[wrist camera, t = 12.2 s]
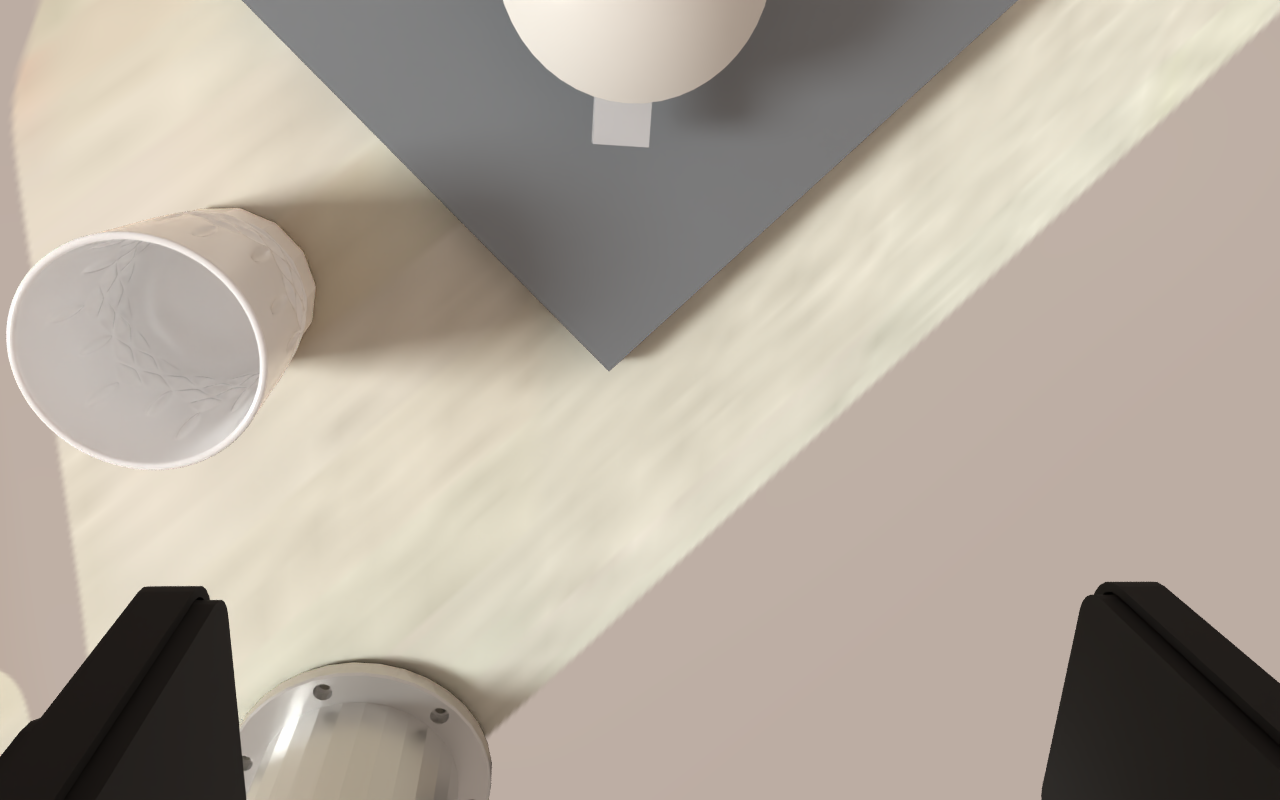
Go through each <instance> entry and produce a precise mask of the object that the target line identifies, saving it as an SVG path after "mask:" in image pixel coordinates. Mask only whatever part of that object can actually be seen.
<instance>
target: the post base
mask: <svg viewBox="0 0 1280 800" xmlns="http://www.w3.org/2000/svg"><path fill="white" fill-rule="evenodd" d="M242 1H243V2H244V3H245V4H246V5H247V6H248V7H249V8H250V9H251V10H252V11H253V12H254V13H255V14H256V15H257V16H258V17H259V18H260V19H261V20H262V21H263V22H264V23H265V24H266V25H267V26H268V27H269V28H270V29H271V30H272V31H273V32H274V33H275V34H276V35H277V36H278V37H279V38H280V39H281V40H282V41H283V42H284V43H285V44H286V45H287V46H288V47H289V48H290V49H291V50H292V51H293V52H294V53H295V54H296V55H297V56H298V57H299V58H300V60H301V61H302V62H303V63H304V64H305V65H306V66H307V67H308V68H309V69H310V70H311V71H312V72H313V73H314V74H315V75H316V76H317V77H318V78H319V79H320V80H321V81H322V82H323V83H324V84H325V85H326V86H327V87H328V88H329V89H330V90H331V91H332V92H333V93H334V94H335V95H336V96H337V97H338V98H339V99H340V100H341V101H342V102H343V103H344V104H345V105H346V106H347V107H348V108H349V109H350V110H351V111H352V112H353V113H354V114H355V115H356V116H357V117H358V118H359V119H360V120H361V121H362V122H363V123H364V124H365V125H366V126H367V127H368V128H369V129H370V130H371V131H372V132H373V133H374V134H375V135H376V136H377V137H378V138H379V139H380V140H381V141H382V142H383V143H384V144H385V145H386V146H387V147H388V148H389V149H390V151H391V152H392V153H393V154H394V155H395V156H396V157H397V158H398V159H399V160H400V161H401V162H402V163H403V164H404V165H405V166H406V167H407V168H408V169H409V170H410V171H411V172H412V173H413V174H414V175H415V176H416V177H417V178H418V179H419V180H420V181H421V182H422V183H423V184H424V185H425V186H426V187H427V188H428V189H429V190H430V191H431V192H432V193H433V194H434V195H435V196H436V197H437V198H438V199H439V200H440V201H441V202H442V203H443V204H444V205H445V206H446V207H447V208H448V209H449V210H450V211H451V212H452V213H453V214H454V215H455V216H456V217H457V218H458V219H459V220H460V221H461V222H462V223H463V224H464V225H465V226H466V227H467V228H468V229H469V230H470V231H471V232H472V233H473V234H474V235H475V236H476V237H477V238H478V239H479V240H480V242H481V243H482V244H483V245H484V246H485V247H486V248H487V249H488V250H489V251H490V252H491V253H492V254H493V255H494V256H495V257H496V258H497V259H498V260H499V261H500V262H501V263H502V264H503V265H504V266H505V267H506V268H507V269H508V270H509V271H510V272H511V273H512V274H513V275H514V276H515V277H516V278H517V279H518V280H519V281H520V282H521V283H522V284H523V285H524V286H525V287H526V288H527V289H528V290H529V291H530V292H531V293H532V294H533V295H534V296H535V297H536V298H537V299H538V300H539V301H540V302H541V303H542V304H543V305H544V306H545V307H546V308H547V309H548V310H549V311H550V312H551V313H552V314H553V315H554V316H555V317H556V318H557V319H558V320H559V321H560V322H561V323H562V324H563V325H564V326H565V327H566V328H567V329H568V330H569V331H570V333H571V334H572V335H573V336H574V337H575V338H576V339H577V340H578V341H579V342H580V343H581V344H582V345H583V346H584V347H585V348H586V349H587V350H588V351H589V352H590V353H591V354H592V355H593V356H594V357H595V358H596V359H597V360H598V361H599V362H600V363H601V364H602V365H603V366H604V367H605V368H606V369H607V370H608V371H610V370H611V369H612V368H613V367H614V366H616V365H617V364H618V363H619V362H620V361H621V360H622V359H623V358H624V357H625V356H627V355H628V354H629V353H630V352H631V351H632V350H633V349H634V348H635V347H636V346H638V345H639V344H640V343H641V342H642V341H643V340H644V339H645V338H646V337H647V336H649V335H650V334H651V333H652V332H653V331H654V330H655V329H656V328H657V327H658V326H660V325H661V324H662V323H663V322H664V321H665V320H666V319H667V318H668V317H670V316H671V315H672V314H673V313H674V312H675V311H676V310H677V309H678V308H679V307H681V306H682V305H683V304H684V303H685V302H686V301H687V300H688V299H689V298H690V297H692V296H693V295H694V294H695V293H696V292H697V291H698V290H699V289H700V288H701V287H703V286H704V285H705V284H706V283H707V282H708V281H709V280H710V279H711V278H712V277H714V276H715V275H716V274H717V273H718V272H719V271H720V270H721V269H722V268H723V267H725V266H726V265H727V264H728V263H729V262H730V261H731V260H732V259H733V258H734V257H736V256H737V255H738V254H739V253H740V252H741V251H742V250H743V249H744V248H745V247H747V246H748V245H749V244H750V243H751V242H752V241H753V240H754V239H755V238H756V237H758V236H759V235H760V234H761V233H762V232H763V231H764V230H765V229H766V228H768V227H769V226H770V225H771V224H772V223H773V222H774V221H775V220H776V219H777V218H779V217H780V216H781V215H782V214H783V213H784V212H785V211H786V210H787V209H788V208H790V207H791V206H792V205H793V204H794V203H795V202H796V201H797V200H798V199H799V198H801V197H802V196H803V195H804V194H805V193H806V192H807V191H808V190H809V189H810V188H812V187H813V186H814V185H815V184H816V183H817V182H818V181H819V180H820V179H821V178H823V177H824V176H825V175H826V174H827V173H828V172H829V171H830V170H831V169H832V168H834V167H835V166H836V165H837V164H838V163H839V162H840V161H841V160H842V159H843V158H845V157H846V156H847V155H848V154H849V153H850V152H851V151H852V150H853V149H854V148H856V147H857V146H858V145H859V144H860V143H861V142H862V141H863V140H864V139H865V138H867V137H868V136H869V135H870V134H871V133H872V132H873V131H874V130H875V129H877V128H878V127H879V126H880V125H881V124H882V123H883V122H884V121H885V120H886V119H888V118H889V117H890V116H891V115H892V114H893V113H894V112H895V111H896V110H897V109H899V108H900V107H901V106H902V105H903V104H904V103H905V102H906V101H907V100H908V99H910V98H911V97H912V96H913V95H914V94H915V93H916V92H917V91H918V90H919V89H921V88H922V87H923V86H924V85H925V84H926V83H927V82H928V81H929V80H930V79H932V78H933V77H934V76H935V75H936V74H937V73H938V72H939V71H940V70H941V69H943V68H944V67H945V66H946V65H947V64H948V63H949V62H950V61H951V60H952V59H954V58H955V57H956V56H957V55H958V54H959V53H960V52H961V51H962V50H963V49H965V48H966V47H967V46H968V45H969V44H970V43H971V42H972V41H973V40H975V39H976V38H977V37H978V36H979V35H980V34H981V33H982V32H983V31H984V30H986V29H987V28H988V27H989V26H990V25H991V24H992V23H993V22H994V21H995V20H997V19H998V18H999V17H1000V16H1001V15H1002V14H1003V13H1004V12H1005V11H1006V10H1008V9H1009V8H1010V7H1011V6H1012V5H1013V4H1014V3H1015V2H1016V1H1017V0H766V3H765V7H764V9H763V12H762V14H761V16H760V19H759V21H758V24H757V26H756V27H755V29H754V31H753V33H752V34H751V36H750V38H749V40H748V41H747V43H746V44H745V45H744V47H743V48H742V49H741V51H740V52H739V53H738V55H737V56H736V57H735V58H734V59H733V60H732V61H731V62H730V63H729V64H728V65H727V66H726V67H725V68H724V69H723V70H722V71H721V72H719V73H718V74H717V75H716V76H714V77H713V78H712V79H711V80H709V81H707V82H706V83H704V84H702V85H701V86H699V87H697V88H696V89H694V90H692V91H689V92H687V93H685V94H682V95H680V96H677V97H674V98H670V99H667V100H663V101H658V102H652V110H651V124H650V138H649V147H634V146H618V145H602V144H593V143H592V125H593V105H594V96H591V95H589V94H586V93H584V92H582V91H579V90H577V89H575V88H574V87H572V86H570V85H569V84H567V83H565V82H564V81H562V80H560V79H559V78H558V77H557V76H555V75H554V74H553V73H551V72H550V71H549V70H548V69H546V68H545V67H544V66H543V65H542V64H541V62H540V61H539V60H538V59H537V58H536V57H535V56H534V55H533V54H532V53H531V51H530V50H529V49H528V47H527V46H526V45H525V44H524V42H523V41H522V39H521V38H520V36H519V34H518V33H517V31H516V29H515V27H514V26H513V24H512V22H511V20H510V17H509V15H508V12H507V10H506V8H505V5H504V2H503V0H242Z"/></svg>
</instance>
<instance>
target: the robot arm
mask: <svg viewBox="0 0 1280 800" xmlns="http://www.w3.org/2000/svg"><path fill="white" fill-rule="evenodd" d="M491 766H492V762H491V757H490V752H489V748H488V743H487V740H486V738H485V736H484V734H483V732H482V730H481V727H480V725H479V723H478V722H477V721H476V719H475V718H474V717H473V715H472V714H471V713H470V711H469V710H468V709H467V707H466V706H465V705H464V704H463V703H462V702H460V701H459V700H458V699H457V698H456V697H455V696H454V695H453V694H452V693H450V692H449V691H448V690H446V689H445V688H443V687H442V686H440V685H438V684H437V683H435V682H433V681H432V680H430V679H428V678H426V677H424V676H421V675H418V674H416V673H413V672H411V671H408V670H406V669H402V668H397V667H393V666H388V665H383V664H375V663H355V662H353V663H344V664H335V665H327V666H324V667H320V668H317V669H313V670H310V671H306V672H303V673H301V674H299V675H297V676H295V677H292V678H290V679H288V680H286V681H284V682H282V683H280V684H279V685H278V686H276V687H275V688H274V689H272V690H271V691H270V692H268V693H267V694H266V695H264V696H263V697H262V698H261V699H260V700H259V701H258V702H257V703H256V704H255V705H254V707H253V708H252V709H251V710H250V711H249V712H248V713H247V715H246V716H245V718H244V720H243V722H242V723H241V725H240V727H239V719H238V709H237V699H236V689H235V679H234V669H233V659H232V649H231V639H230V629H229V619H228V612H227V607H226V605H225V602H224V601H222V600H210V598H209V595H208V593H207V590H206V589H205V588H204V587H203V586H155V587H143V588H142V589H141V590H140V591H139V592H138V593H137V594H136V596H135V597H134V598H133V600H132V601H131V602H130V603H129V605H128V606H127V607H126V609H125V610H124V611H123V612H122V614H121V615H120V616H119V618H118V619H117V620H116V621H115V623H114V624H113V625H112V627H111V628H110V629H109V630H108V632H107V633H106V634H105V636H104V637H103V638H102V639H101V641H100V642H99V643H98V645H97V646H96V647H95V649H94V650H93V651H92V652H91V654H90V655H89V656H88V658H87V659H86V660H85V661H84V663H83V664H82V665H81V667H80V668H79V669H78V670H77V672H76V673H75V674H74V676H73V677H72V678H71V679H70V681H69V682H68V683H67V685H66V686H65V687H64V688H63V690H62V691H61V692H60V694H59V695H58V696H57V698H56V699H55V700H54V701H53V703H52V704H51V705H50V707H49V708H48V709H47V710H46V712H45V713H44V714H43V716H42V717H41V718H39V719H36V720H33V721H31V722H30V723H29V724H28V725H27V726H26V727H25V728H23V729H22V730H21V731H20V732H19V734H18V735H17V736H16V737H15V739H14V740H13V741H12V743H11V744H10V745H9V746H8V748H7V749H6V750H5V751H4V753H3V754H2V755H1V756H0V800H489V794H490V788H491V768H492V767H491ZM1041 797H1042V800H1280V683H1279V682H1277V681H1276V680H1275V679H1274V678H1273V677H1271V676H1270V675H1269V674H1268V673H1267V672H1265V671H1264V670H1263V669H1262V668H1261V667H1260V666H1258V665H1257V664H1256V663H1255V662H1254V661H1252V660H1251V659H1250V658H1249V657H1248V656H1246V655H1245V654H1244V653H1243V652H1242V651H1241V650H1239V649H1238V648H1237V647H1235V645H1233V644H1232V643H1231V642H1230V641H1229V640H1228V639H1226V638H1225V637H1224V636H1223V635H1222V634H1220V633H1219V632H1218V631H1217V630H1216V629H1214V628H1213V627H1212V626H1211V625H1210V624H1209V623H1207V622H1206V621H1205V620H1203V618H1201V617H1200V616H1199V615H1198V614H1197V613H1195V612H1194V611H1193V610H1192V609H1191V608H1189V607H1188V606H1187V605H1186V604H1185V603H1183V602H1182V601H1181V600H1180V599H1179V598H1178V597H1176V596H1175V595H1174V594H1173V593H1172V592H1170V591H1169V590H1168V589H1167V588H1166V587H1165V586H1163V585H1161V584H1159V583H1158V582H1105V583H1103V584H1101V585H1100V586H1099V587H1098V589H1097V590H1096V591H1095V593H1094V595H1089V596H1087V597H1086V598H1085V599H1084V600H1083V602H1082V605H1081V608H1080V612H1079V616H1078V621H1077V626H1076V630H1075V635H1074V640H1073V645H1072V649H1071V654H1070V659H1069V663H1068V668H1067V673H1066V678H1065V682H1064V687H1063V692H1062V696H1061V701H1060V706H1059V711H1058V715H1057V720H1056V725H1055V729H1054V735H1053V739H1052V744H1051V748H1050V753H1049V758H1048V763H1047V768H1046V772H1045V777H1044V781H1043V786H1042V795H1041Z"/></svg>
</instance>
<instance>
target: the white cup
mask: <svg viewBox="0 0 1280 800" xmlns="http://www.w3.org/2000/svg"><path fill="white" fill-rule="evenodd" d="M315 291H316V285H315V282H314V280H313V277H312V274H311V271H310V269H309V266H308V263H307V260H306V258H305V255H304V252H303V251H302V250H301V249H300V248H299V247H298V245H297V244H296V243H295V242H294V241H293V240H292V239H291V238H290V237H289V236H288V235H287V234H286V233H285V232H284V231H283V230H282V229H281V228H280V227H279V226H278V225H277V224H276V223H274V222H272V221H269V220H267V219H265V218H262V217H260V216H257V215H255V214H253V213H250V212H248V211H245V210H243V209H241V208H210V209H197V210H194V211H187V212H180V213H174V214H169V215H165V216H160V217H155V218H151V219H147V220H143V221H139V222H135V223H132V224H128V225H125V226H121V227H117V228H114V229H110V230H106V231H102V232H98V233H94V234H90V235H86V236H83V237H80V238H77V239H74V240H72V241H69V242H67V243H65V244H63V245H61V246H59V247H57V248H56V249H54V250H52V251H51V252H49V253H48V254H47V255H45V256H44V257H43V258H42V259H40V260H39V261H38V262H37V263H36V264H35V265H34V266H33V267H32V268H31V270H30V271H29V272H28V273H27V275H26V276H25V277H24V279H23V280H22V282H21V283H20V285H19V287H18V289H17V291H16V293H15V295H14V298H13V300H12V303H11V307H10V310H9V314H8V320H7V333H6V337H7V350H8V356H9V361H10V365H11V369H12V371H13V375H14V377H15V379H16V382H17V384H18V386H19V388H20V390H21V392H22V394H23V396H24V397H25V399H26V401H27V402H28V404H29V405H30V407H31V408H32V409H33V410H34V412H35V413H36V414H37V416H38V417H39V418H40V419H41V420H42V421H43V422H44V423H45V424H46V425H47V426H48V427H49V428H50V429H51V430H52V431H53V432H54V433H55V434H57V435H58V436H59V437H60V438H62V439H63V440H64V441H66V442H67V443H69V444H70V445H72V446H73V447H75V448H77V449H78V450H80V451H82V452H84V453H86V454H88V455H90V456H92V457H94V458H97V459H99V460H102V461H104V462H107V463H110V464H114V465H117V466H122V467H126V468H132V469H140V470H167V469H175V468H181V467H185V466H189V465H193V464H196V463H198V462H201V461H204V460H206V459H208V458H210V457H212V456H214V455H216V454H218V453H219V452H221V451H222V450H224V449H225V448H227V447H228V446H229V445H231V444H232V443H233V442H234V441H235V440H236V439H237V438H238V437H239V436H240V435H241V434H242V433H243V432H244V431H245V430H246V428H247V427H248V426H249V424H250V423H251V422H252V420H253V418H254V417H255V415H256V414H257V412H258V411H259V409H260V408H261V406H262V405H263V403H264V402H265V400H266V399H267V397H268V396H269V394H270V393H271V391H272V390H273V388H274V387H275V386H276V384H277V383H278V382H279V380H280V379H281V377H282V375H283V373H284V372H285V370H286V368H287V366H288V365H289V363H290V361H291V360H292V358H293V356H294V355H295V353H296V351H297V349H298V346H299V343H300V341H301V338H302V336H303V334H304V333H305V331H306V330H307V329H308V327H309V326H310V324H311V323H312V318H313V309H314V300H315Z"/></svg>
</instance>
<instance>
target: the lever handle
mask: <svg viewBox="0 0 1280 800" xmlns="http://www.w3.org/2000/svg"><path fill="white" fill-rule="evenodd" d="M503 2H504V5H505V8H506V10H507V12H508V15H509V17H510V20H511V22H512V24H513V26H514V27H515V29H516V31H517V33H518V34H519V36H520V38H521V39H522V41H523V42H524V44H525V45H526V46H527V47H528V49H529V50H530V51H531V53H532V54H533V55H534V56H535V57H536V58H537V59H538V60H539V61H540V62H541V64H542V65H543V66H544V67H545V68H546V69H548V70H549V71H550V72H551V73H553V74H554V75H555V76H557V77H558V78H559V79H560V80H562V81H564V82H565V83H567V84H569V85H570V86H572V87H574V88H575V89H577V90H579V91H582V92H584V93H586V94H589V95H591V96H594V105H593V125H592V143H593V144H602V145H618V146H634V147H649V138H650V124H651V110H652V102H658V101H663V100H667V99H670V98H674V97H677V96H680V95H682V94H685V93H687V92H689V91H692V90H694V89H696V88H697V87H699V86H701V85H702V84H704V83H706V82H707V81H709V80H711V79H712V78H713V77H714V76H716V75H717V74H718V73H719V72H721V71H722V70H723V69H724V68H725V67H726V66H727V65H728V64H729V63H730V62H731V61H732V60H733V59H734V58H735V57H736V56H737V55H738V53H739V52H740V51H741V49H742V48H743V47H744V45H745V44H746V43H747V41H748V40H749V38H750V36H751V34H752V33H753V31H754V29H755V27H756V26H757V24H758V21H759V19H760V16H761V14H762V12H763V9H764V7H765V3H766V0H503Z"/></svg>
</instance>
